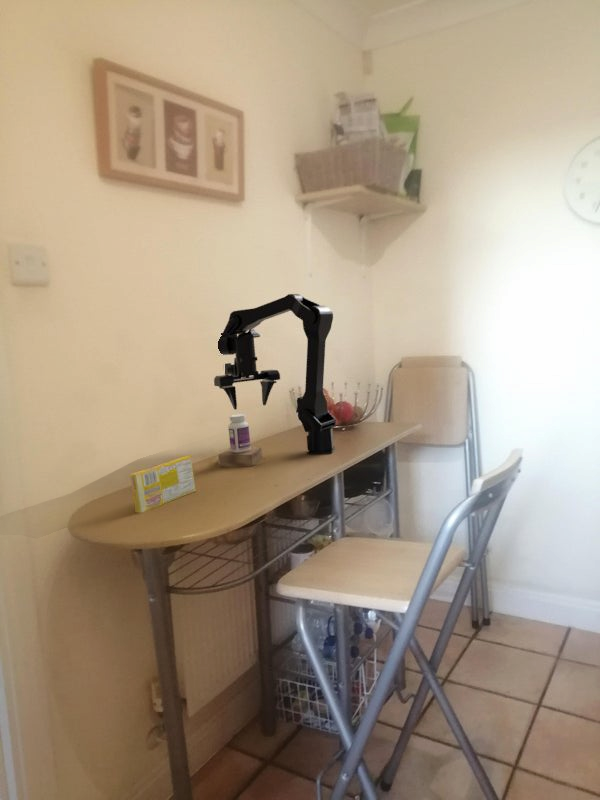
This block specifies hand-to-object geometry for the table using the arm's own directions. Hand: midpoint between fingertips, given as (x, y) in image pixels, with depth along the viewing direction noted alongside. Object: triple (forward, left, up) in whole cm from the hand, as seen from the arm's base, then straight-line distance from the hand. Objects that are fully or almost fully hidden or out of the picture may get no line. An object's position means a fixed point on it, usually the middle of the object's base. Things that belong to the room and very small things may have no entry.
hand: (250, 407), depth 180 cm
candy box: (+4, +52, -12) cm, 54 cm away
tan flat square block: (-2, +18, -12) cm, 22 cm away
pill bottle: (-2, +18, -9) cm, 20 cm away
